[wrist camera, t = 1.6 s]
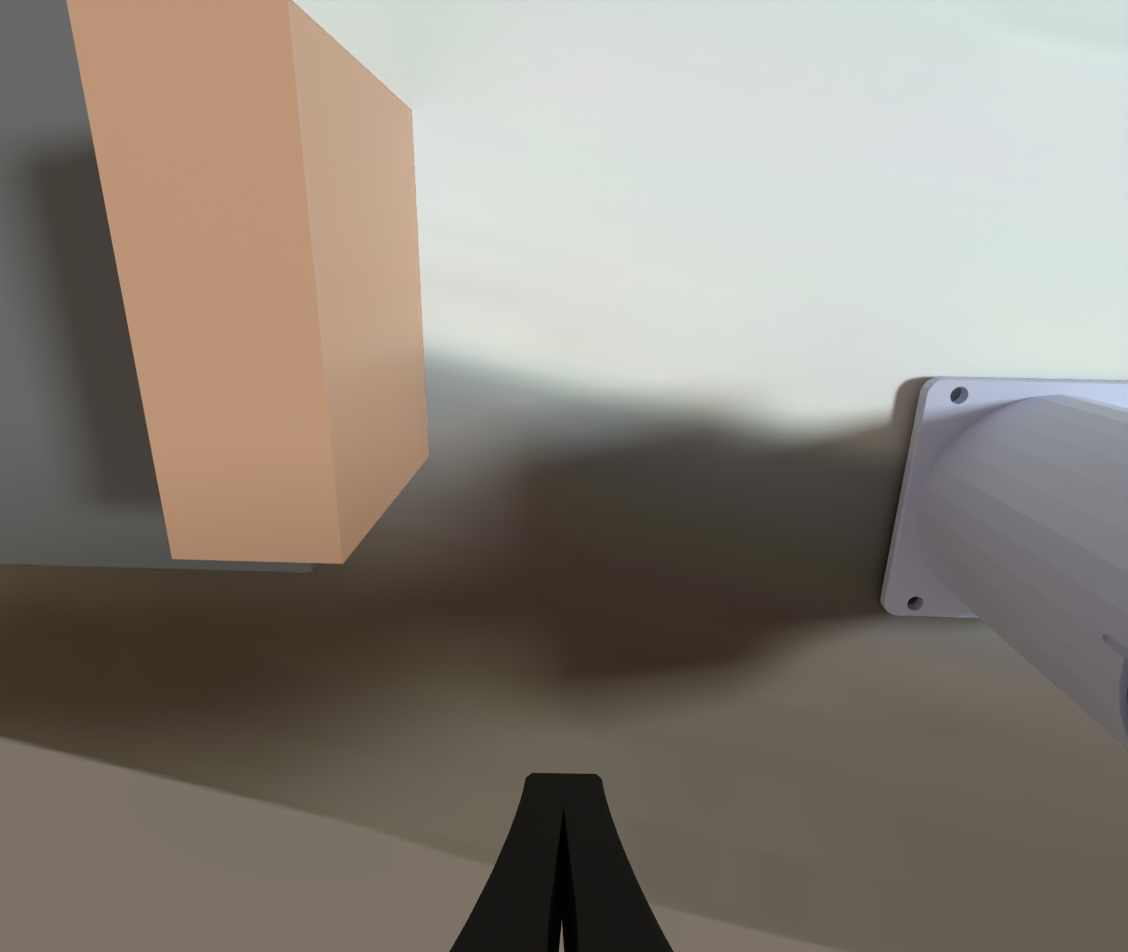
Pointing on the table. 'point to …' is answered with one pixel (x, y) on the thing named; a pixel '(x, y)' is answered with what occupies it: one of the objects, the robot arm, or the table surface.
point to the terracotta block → (260, 270)
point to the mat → (67, 330)
